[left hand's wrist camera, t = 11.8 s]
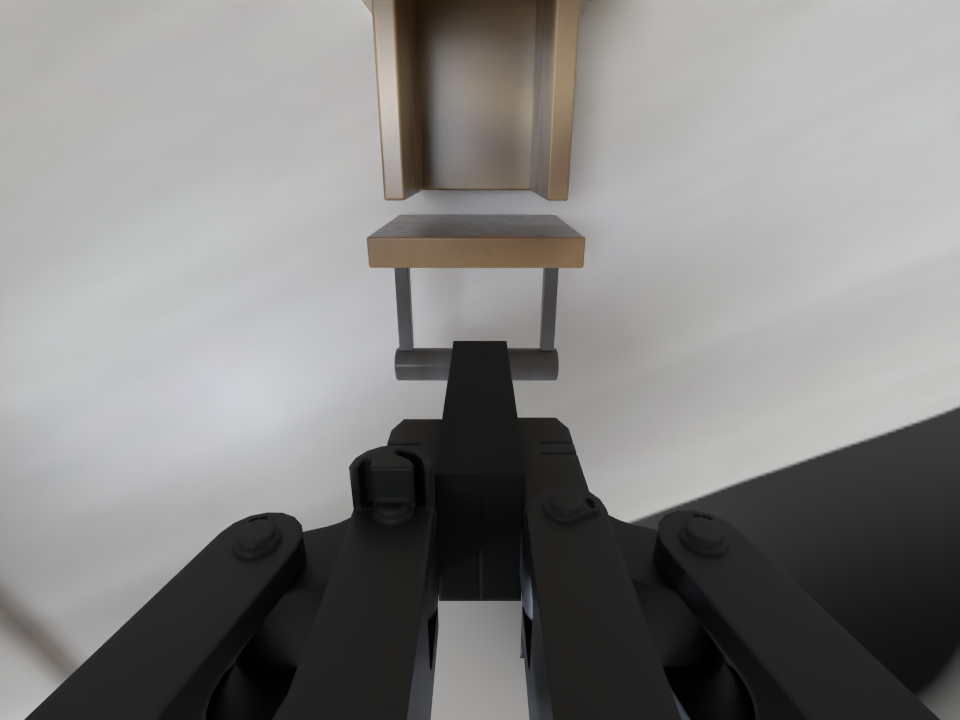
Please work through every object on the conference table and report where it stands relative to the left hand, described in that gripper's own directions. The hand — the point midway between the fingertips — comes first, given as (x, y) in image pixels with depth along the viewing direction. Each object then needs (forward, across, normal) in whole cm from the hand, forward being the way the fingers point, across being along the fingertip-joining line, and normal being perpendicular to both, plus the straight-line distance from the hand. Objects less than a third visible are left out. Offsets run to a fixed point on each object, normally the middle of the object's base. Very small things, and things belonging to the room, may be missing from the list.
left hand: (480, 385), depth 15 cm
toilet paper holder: (+15, 0, -7) cm, 17 cm away
